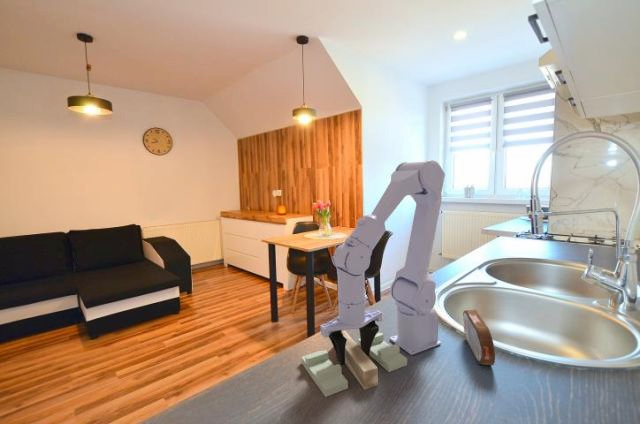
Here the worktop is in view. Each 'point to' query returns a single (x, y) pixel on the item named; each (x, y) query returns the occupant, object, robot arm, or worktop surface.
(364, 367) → the bar
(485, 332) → the brown rounded slab
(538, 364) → the worktop surface
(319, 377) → the stand
